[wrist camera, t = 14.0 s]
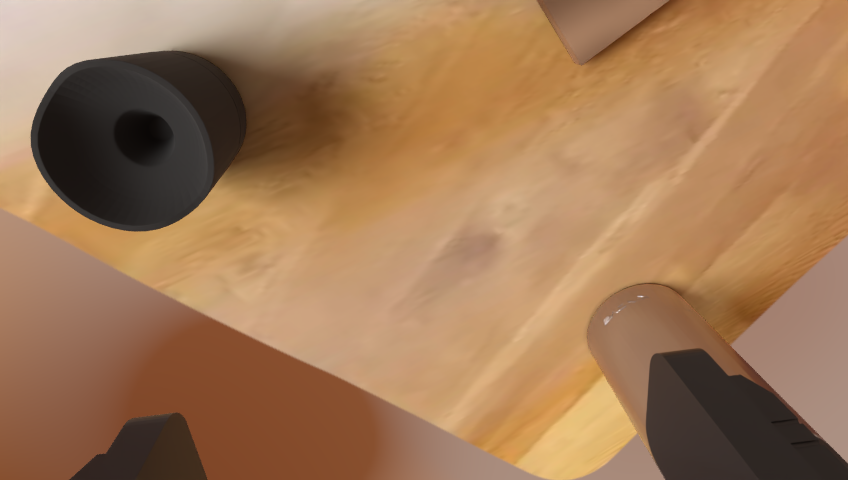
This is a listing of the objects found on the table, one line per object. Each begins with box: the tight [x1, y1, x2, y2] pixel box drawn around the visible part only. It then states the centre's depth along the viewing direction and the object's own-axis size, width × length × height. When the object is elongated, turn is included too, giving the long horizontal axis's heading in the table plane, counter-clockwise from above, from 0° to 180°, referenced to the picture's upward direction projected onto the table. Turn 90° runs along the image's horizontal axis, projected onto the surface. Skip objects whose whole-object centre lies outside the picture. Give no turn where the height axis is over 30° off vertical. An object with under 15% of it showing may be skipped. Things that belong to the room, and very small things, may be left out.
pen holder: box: [31, 51, 246, 231], centre depth 34 cm, size 9×9×10 cm
